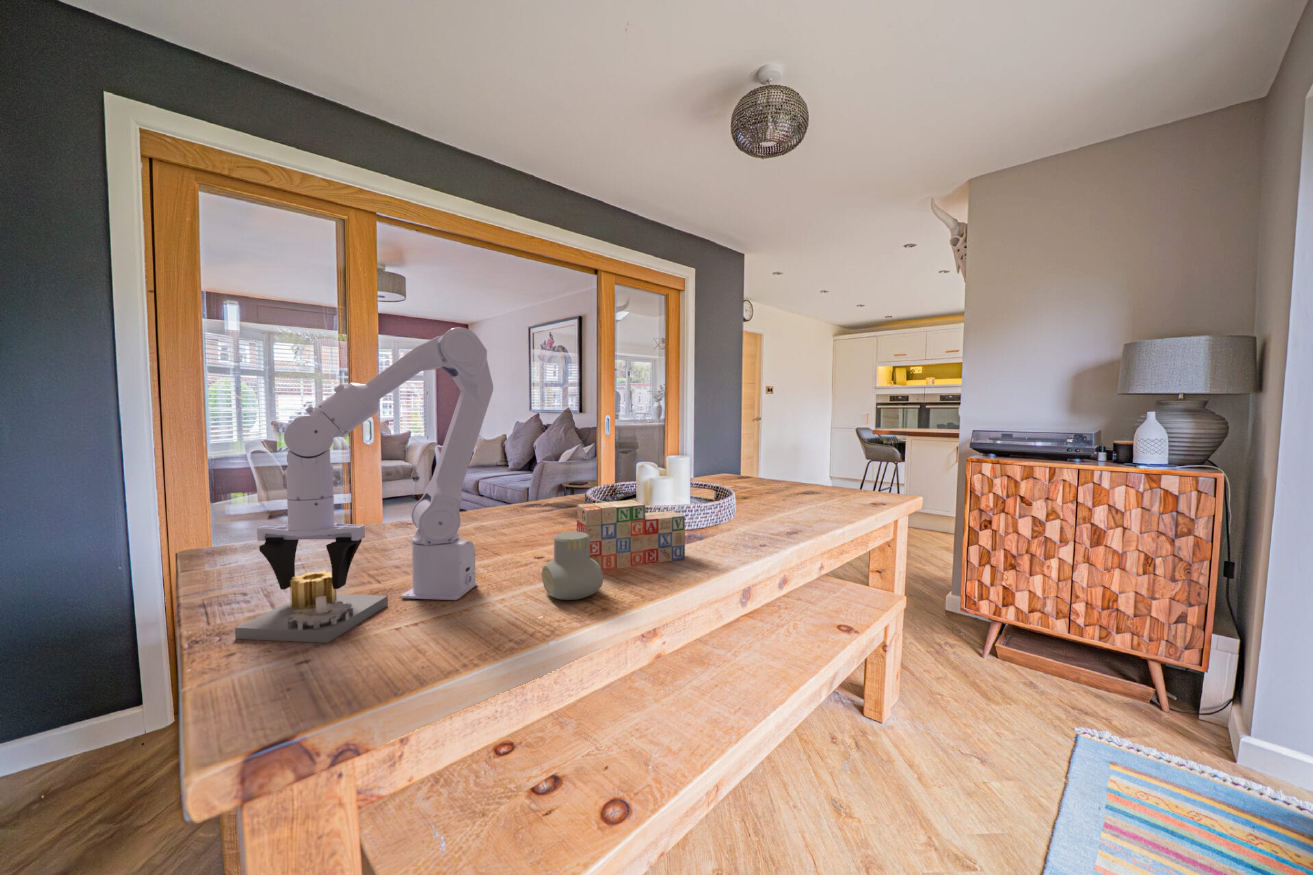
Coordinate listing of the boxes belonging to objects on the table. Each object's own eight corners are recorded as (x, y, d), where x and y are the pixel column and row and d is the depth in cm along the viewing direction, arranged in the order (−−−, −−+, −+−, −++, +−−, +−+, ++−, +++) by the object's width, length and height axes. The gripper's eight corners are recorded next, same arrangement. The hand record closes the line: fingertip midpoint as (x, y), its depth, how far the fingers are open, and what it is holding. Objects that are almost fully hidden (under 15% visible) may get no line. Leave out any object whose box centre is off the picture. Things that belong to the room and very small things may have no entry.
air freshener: (539, 588, 88) (539, 530, 87) (584, 581, 92) (584, 526, 91) (557, 610, 78) (557, 546, 78) (607, 601, 82) (607, 540, 81)
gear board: (387, 605, 79) (387, 576, 79) (327, 642, 66) (326, 609, 66) (309, 602, 80) (308, 574, 80) (235, 638, 67) (234, 605, 67)
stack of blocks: (671, 552, 111) (672, 496, 110) (685, 560, 105) (686, 501, 105) (576, 564, 102) (576, 503, 101) (585, 573, 96) (585, 509, 96)
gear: (365, 609, 74) (365, 602, 74) (327, 631, 66) (327, 624, 66) (316, 607, 75) (315, 600, 74) (273, 629, 67) (272, 621, 67)
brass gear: (344, 595, 79) (343, 570, 79) (322, 609, 74) (321, 582, 73) (306, 596, 79) (305, 570, 79) (281, 610, 73) (280, 583, 73)
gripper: (374, 492, 80) (376, 577, 80) (279, 492, 79) (282, 578, 80) (349, 500, 73) (351, 593, 73) (244, 500, 72) (248, 594, 73)
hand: (313, 586), depth 76 cm, fingers open, 7 cm apart
